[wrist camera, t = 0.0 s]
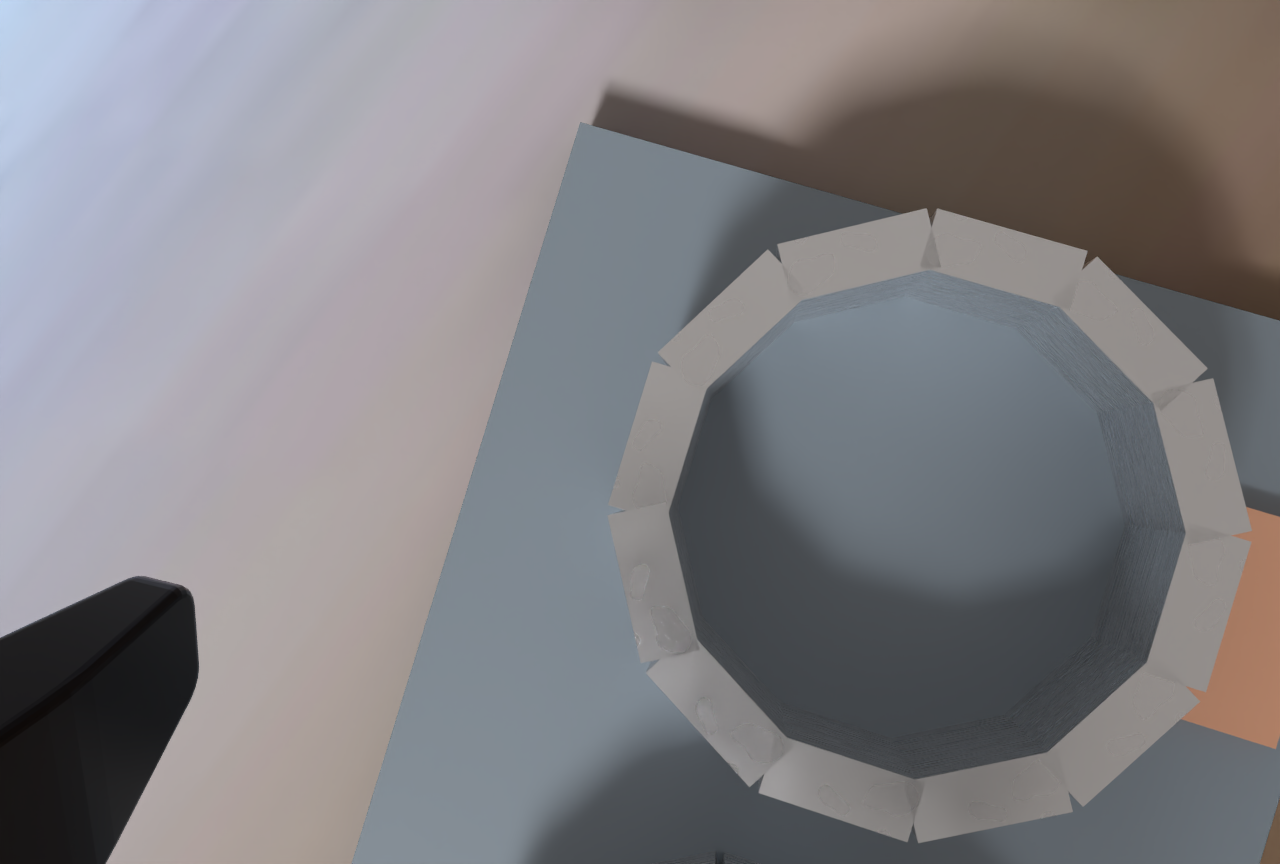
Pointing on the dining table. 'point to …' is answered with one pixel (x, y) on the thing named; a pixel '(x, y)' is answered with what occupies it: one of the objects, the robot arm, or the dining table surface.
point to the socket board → (847, 550)
